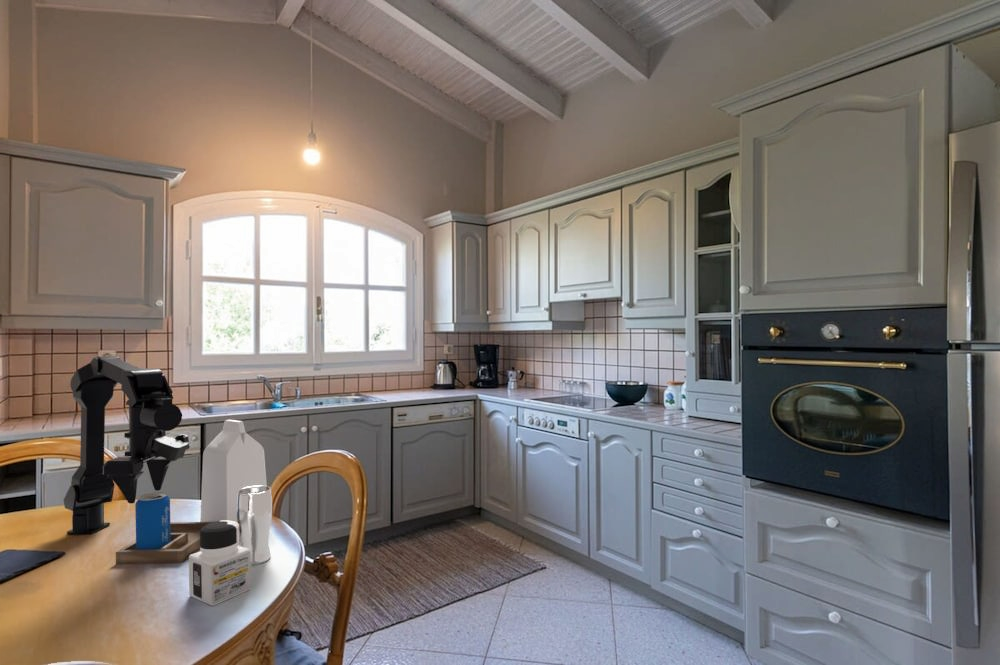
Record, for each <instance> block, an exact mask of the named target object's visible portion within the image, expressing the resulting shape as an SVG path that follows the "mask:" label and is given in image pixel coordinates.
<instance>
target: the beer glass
mask: <svg viewBox="0 0 1000 665" xmlns="http://www.w3.org/2000/svg"><path fill="white" fill-rule="evenodd" d="M272 517H273V498H272V487H271V486H268V485H267V486H251V487H246V488H243V489H240V490H239V491H238V496H237V522H238V524H239V538H240V543H241V547H244V548H247V549H250V551H251V566H256V565H255V564H257V565H261V564H263V562H264V563H265V561H266V562H267V561H269V560H270V559H271V557H272V555H271V551H270V546H269V538H270V536H269V535H270V529H271V525H272V524H271V523H272ZM260 563H261V564H260Z"/></svg>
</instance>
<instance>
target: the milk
mask: <svg viewBox="0 0 1000 665" xmlns="http://www.w3.org/2000/svg"><path fill="white" fill-rule="evenodd" d="M245 428H246V427H245V424H244V422H243V420H235V419H226V420H225V419H224V422H223V427H222V430H221V431H220V432H218V434H217V435H216V436H215V437H214V438H213V440H211V441H210V443H209V444H207V446H206V447H205V449H204V450H203V454H202V471H201V495H200V496H201V497H200V498H201V499H200V519H199V520H200V521H199V522H216V521H221V520H231V521H235V522H237V496H238V491H239V490H240V489H243V488H246V487H251V486H268V484H267V470H266V458H265V457H266V455H265V449H264V447H263V445H262V444H261V443H260V442H258V441H257V439H254V438H253V437H252V436H251V435H249V434H248V433H247V432H246V429H245ZM237 523H238V522H237Z"/></svg>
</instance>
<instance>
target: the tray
mask: <svg viewBox="0 0 1000 665" xmlns="http://www.w3.org/2000/svg"><path fill="white" fill-rule="evenodd" d="M209 523H212V522H200V521H185V522H184V521H183V522H182V521H181V522H180V521H176V522H175V521H173V522H171V521H170V536H171V542H170V543H168V544H167V545H165V546H164V547H162V548H161V550H136V540H134V541H132V542H130V543H129V544H127V545H126V546H124V547H122V548H120V549H119V550H117V551H115V565H128V564H175V563H176V564H179V563H180V564H181V563H184V562H185V561H186V560H189V556H190V555H191V554H194V553H197V552H200V530H201V529H202V528H203V527H204V526H206V525H207V524H209Z"/></svg>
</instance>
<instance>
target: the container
mask: <svg viewBox="0 0 1000 665" xmlns="http://www.w3.org/2000/svg"><path fill="white" fill-rule="evenodd" d="M188 584H189V585H188V587H189V588H188V589H189V590H188V593H189V596H190V597H192V598H194V599H196V600H198V601H200V602H202V603H205V604H207V605H209V606H212V607H214V606H216V605H219V604H221V603H223V602H225V601H228V600H230V599H232V598H234V597H237V596H239V595H242V594H244V593H245V592H248V591H250V590H251V589H252V565H251V551H250V549H247V548H244V547H242V545H240V532H239V524H238V523H237V522H235V521H231V520H221V521H216V522H212V523H209V524H207V525H206V526H204V527H203V528H202V529H201V530H200V550H199V551H197V552H196V553H194V554H191V555H190V556H189V558H188Z"/></svg>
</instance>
